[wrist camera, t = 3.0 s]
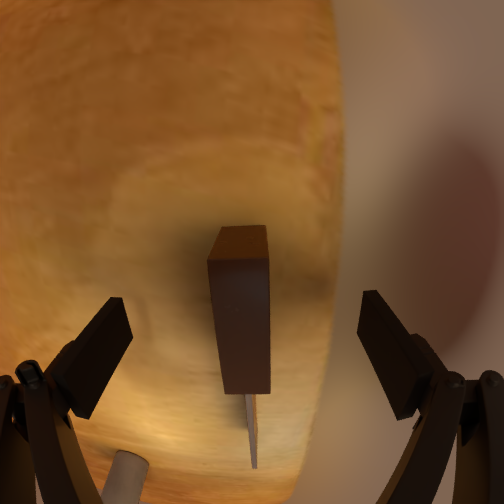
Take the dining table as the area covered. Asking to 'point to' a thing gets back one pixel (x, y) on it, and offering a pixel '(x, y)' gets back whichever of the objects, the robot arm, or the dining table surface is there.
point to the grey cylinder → (125, 479)
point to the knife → (242, 315)
